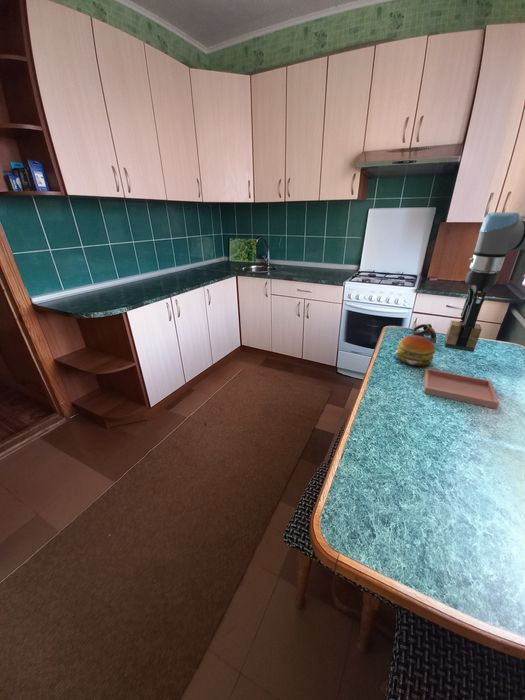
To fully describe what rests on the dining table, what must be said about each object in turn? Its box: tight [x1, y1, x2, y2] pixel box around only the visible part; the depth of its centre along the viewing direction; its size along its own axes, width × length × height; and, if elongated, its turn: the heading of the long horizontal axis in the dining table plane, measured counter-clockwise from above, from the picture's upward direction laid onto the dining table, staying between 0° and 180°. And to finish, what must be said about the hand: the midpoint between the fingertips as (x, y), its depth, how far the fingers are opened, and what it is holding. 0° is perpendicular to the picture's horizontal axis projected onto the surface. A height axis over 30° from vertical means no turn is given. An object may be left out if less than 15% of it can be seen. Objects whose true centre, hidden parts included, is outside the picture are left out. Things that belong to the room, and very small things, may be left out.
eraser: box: [443, 320, 483, 353], centre depth 94 cm, size 8×4×8 cm, turn 63°
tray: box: [423, 368, 500, 410], centre depth 97 cm, size 20×14×2 cm
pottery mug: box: [411, 323, 437, 344], centre depth 132 cm, size 12×10×8 cm
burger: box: [394, 335, 436, 367], centre depth 113 cm, size 14×14×10 cm
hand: (460, 342), depth 95 cm, fingers closed on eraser, 4 cm apart
